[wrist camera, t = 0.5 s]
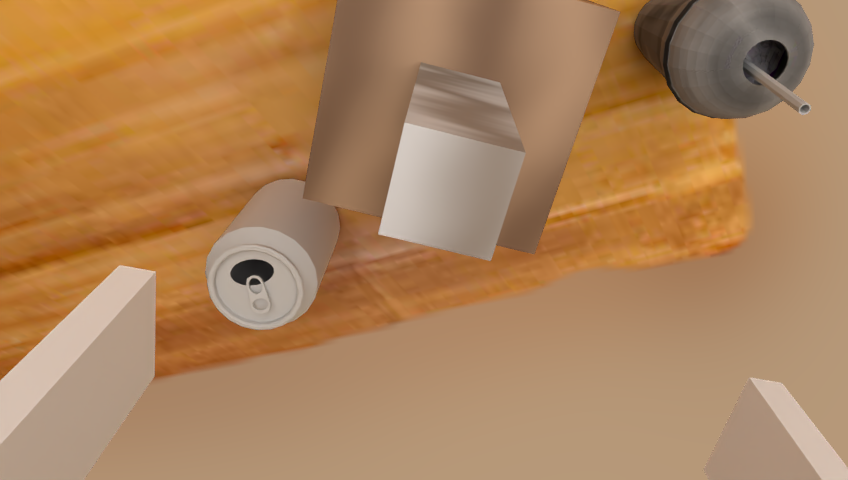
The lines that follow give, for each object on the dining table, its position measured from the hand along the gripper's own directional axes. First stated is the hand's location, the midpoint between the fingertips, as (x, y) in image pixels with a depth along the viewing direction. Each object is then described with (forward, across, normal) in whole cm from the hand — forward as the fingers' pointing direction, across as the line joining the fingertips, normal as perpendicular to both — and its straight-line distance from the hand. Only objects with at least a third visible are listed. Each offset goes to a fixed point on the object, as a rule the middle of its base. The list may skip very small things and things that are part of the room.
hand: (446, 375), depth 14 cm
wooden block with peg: (+35, 0, +1) cm, 35 cm away
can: (+36, -10, -13) cm, 40 cm away
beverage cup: (+36, +14, +6) cm, 39 cm away
